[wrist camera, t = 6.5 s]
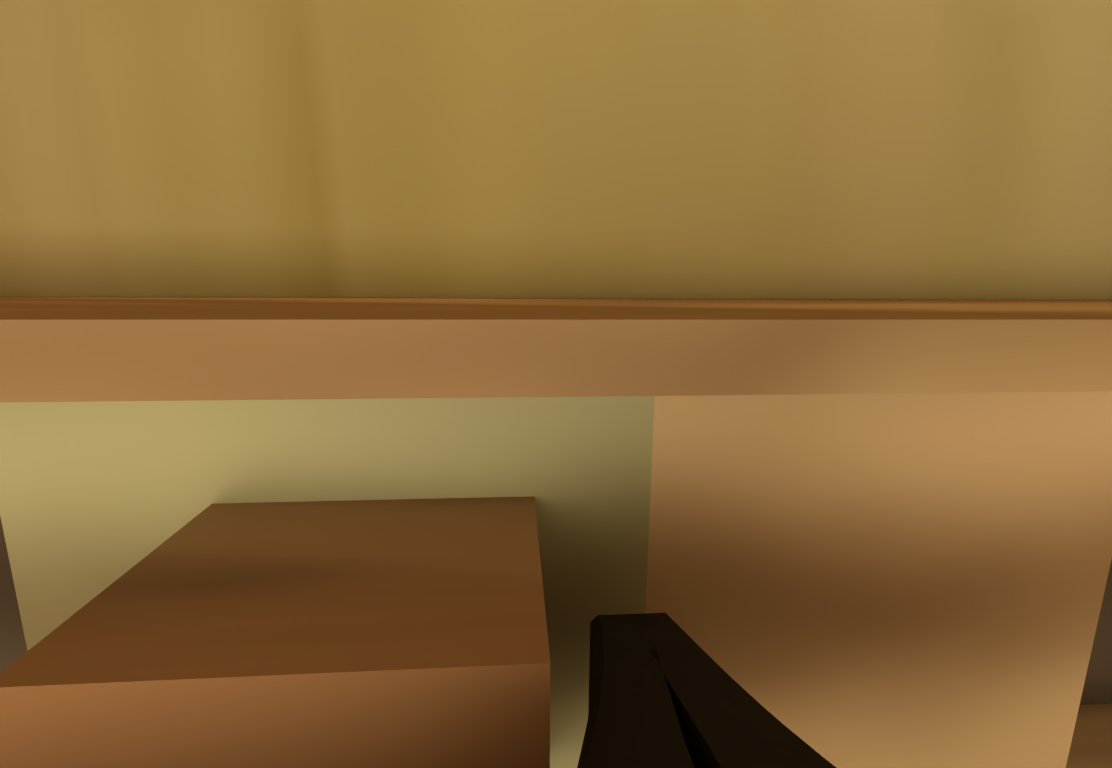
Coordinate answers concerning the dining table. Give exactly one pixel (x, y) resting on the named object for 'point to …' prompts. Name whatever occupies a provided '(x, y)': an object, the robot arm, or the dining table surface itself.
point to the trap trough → (634, 482)
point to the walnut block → (302, 645)
